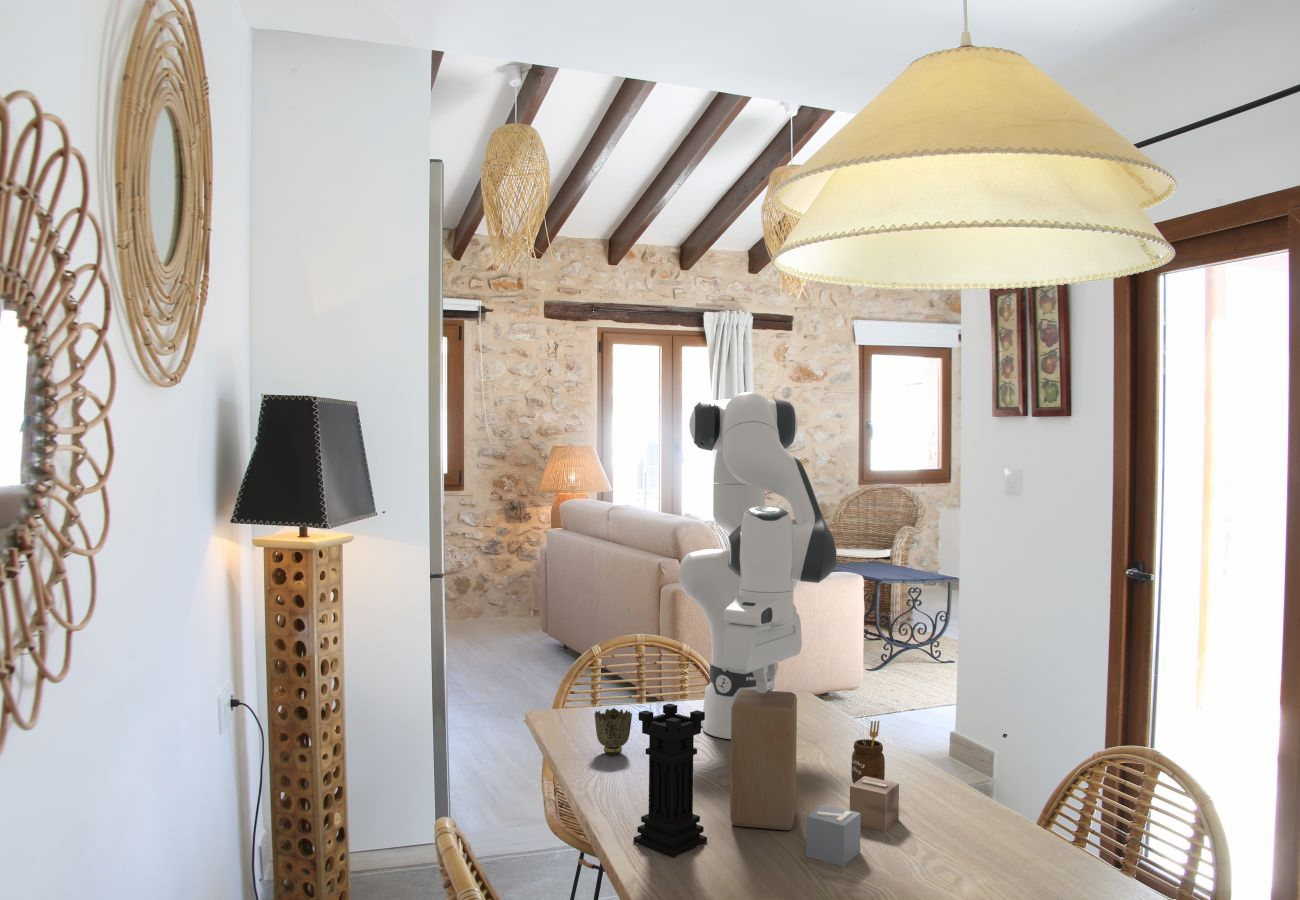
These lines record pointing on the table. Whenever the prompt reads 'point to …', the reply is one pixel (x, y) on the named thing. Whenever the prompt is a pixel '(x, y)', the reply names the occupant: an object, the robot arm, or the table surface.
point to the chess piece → (671, 782)
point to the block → (763, 759)
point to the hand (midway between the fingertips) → (765, 691)
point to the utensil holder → (868, 756)
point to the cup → (613, 729)
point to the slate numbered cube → (833, 834)
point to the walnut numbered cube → (875, 802)
